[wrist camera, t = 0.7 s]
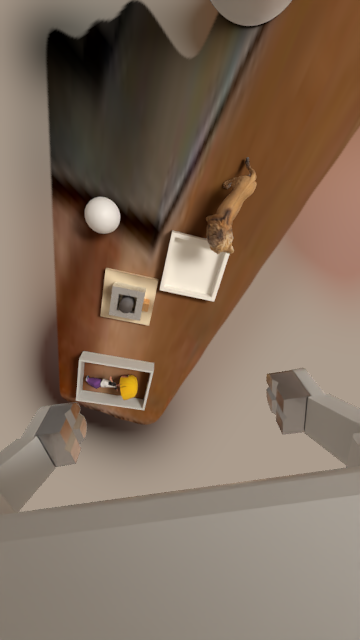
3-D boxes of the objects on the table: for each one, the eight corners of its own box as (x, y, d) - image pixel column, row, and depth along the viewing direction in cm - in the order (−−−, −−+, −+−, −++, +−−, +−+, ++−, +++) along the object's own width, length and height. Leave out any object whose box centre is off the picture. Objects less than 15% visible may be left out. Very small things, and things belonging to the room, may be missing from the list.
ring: (115, 281, 49) (112, 285, 47) (152, 289, 50) (151, 293, 48) (111, 309, 52) (108, 314, 49) (146, 316, 53) (145, 321, 50)
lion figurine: (222, 249, 48) (233, 262, 40) (196, 239, 47) (202, 250, 39) (260, 163, 42) (282, 158, 34) (231, 150, 41) (246, 141, 33)
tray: (172, 230, 46) (172, 231, 44) (229, 244, 47) (231, 246, 46) (159, 286, 51) (159, 290, 49) (212, 297, 52) (214, 301, 50)
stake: (106, 267, 49) (100, 275, 44) (158, 279, 50) (157, 288, 46) (101, 314, 53) (95, 325, 49) (149, 323, 54) (147, 335, 50)
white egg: (116, 191, 43) (109, 192, 38) (127, 226, 45) (122, 231, 40) (72, 203, 43) (60, 205, 38) (86, 237, 46) (76, 243, 41)
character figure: (96, 376, 65) (142, 382, 64) (88, 400, 61) (137, 407, 60) (86, 361, 58) (138, 367, 57) (76, 386, 54) (131, 393, 53)
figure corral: (83, 351, 57) (79, 359, 54) (154, 363, 59) (153, 371, 57) (79, 391, 62) (75, 400, 60) (145, 400, 64) (144, 410, 62)
